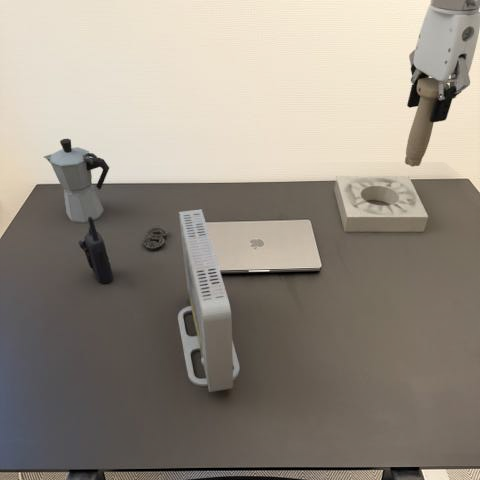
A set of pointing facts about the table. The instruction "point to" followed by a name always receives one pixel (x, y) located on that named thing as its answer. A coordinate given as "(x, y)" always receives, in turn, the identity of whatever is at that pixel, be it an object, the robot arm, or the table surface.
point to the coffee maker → (78, 180)
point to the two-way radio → (96, 254)
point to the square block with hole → (374, 216)
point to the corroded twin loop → (155, 237)
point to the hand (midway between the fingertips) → (426, 112)
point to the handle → (422, 121)
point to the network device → (206, 307)
